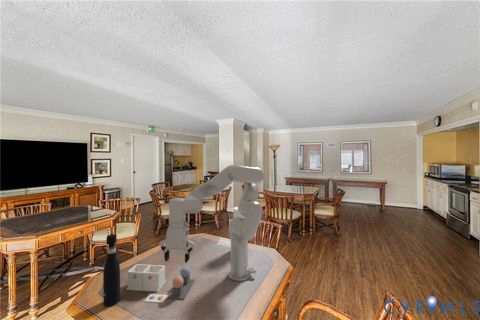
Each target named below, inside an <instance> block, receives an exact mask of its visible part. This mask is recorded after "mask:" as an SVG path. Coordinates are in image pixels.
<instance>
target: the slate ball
mask: <svg viewBox="0 0 480 320" xmlns="http://www.w3.org/2000/svg"><path fill="white" fill-rule="evenodd" d="M179 273H180V276H181V277H188V276H189V274H191V269H190V267H189V266H183V267H181V269H180V271H179Z"/></svg>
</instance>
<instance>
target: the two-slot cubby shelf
mask: <svg viewBox="0 0 480 320" xmlns="http://www.w3.org/2000/svg"><path fill="white" fill-rule="evenodd" d="M165 283H167V280H166V265H162V264H159V265H158V264H144V263H143V264H141V263H136V264H134V266H133V267H132V268H130V269H129V270H128V271H127V287H126V290H128V291H139V292H140V291H141V292H143V291H144V292H156V293H157V292H159V291H161V289H162V287H164V285H165Z"/></svg>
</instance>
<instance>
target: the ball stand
mask: <svg viewBox="0 0 480 320" xmlns="http://www.w3.org/2000/svg"><path fill="white" fill-rule="evenodd" d="M190 274H191V273H190ZM190 274H189V276H188V277H182V276H181V277H182V278H183V280H184V282H183V285H182V286H181V287H180V288H175V287H174V286H173V288H172V289H171V291H170V293H169V294H167V295H168V297H167V298H166V299H169V300H185V298H186V297H187V296H188V293H189V292H190V289H192V287H193V285H194V283H195V281H196V279H194V278H193V279H191V277H190V276H191V275H190Z"/></svg>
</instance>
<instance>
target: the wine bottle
mask: <svg viewBox="0 0 480 320" xmlns="http://www.w3.org/2000/svg"><path fill="white" fill-rule="evenodd" d="M117 240H118V239H117V234H116V233H111V234H107V235H106V245H107V253H106V261H105V264H104V268H103V271H102V272H103V273H102V274H103V282H102V283H103V293H102V294H103V306H104V307H107V308H108V307H112V306H116V305H117V304H118V303H119V302H120V301H121V266H120V262H119V260H118V258H117V248H116V243H117Z"/></svg>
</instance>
